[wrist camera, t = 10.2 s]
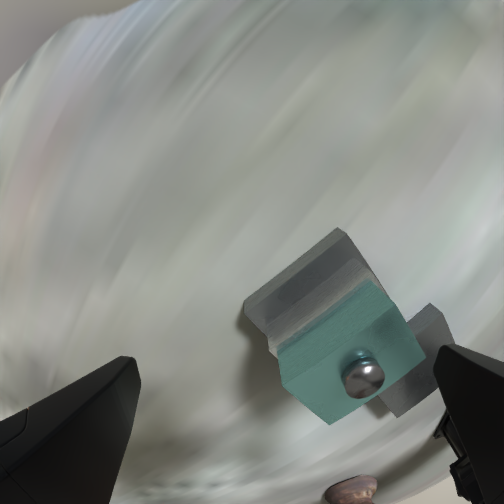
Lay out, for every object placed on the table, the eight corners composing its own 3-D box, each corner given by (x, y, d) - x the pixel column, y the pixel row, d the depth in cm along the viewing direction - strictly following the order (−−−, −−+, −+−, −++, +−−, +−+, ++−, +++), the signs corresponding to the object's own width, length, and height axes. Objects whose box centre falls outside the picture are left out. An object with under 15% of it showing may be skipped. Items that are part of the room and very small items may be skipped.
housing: (309, 369, 20) (330, 440, 13) (266, 324, 19) (274, 397, 12) (389, 309, 19) (439, 364, 12) (353, 256, 17) (405, 302, 11)
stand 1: (391, 307, 21) (402, 319, 19) (309, 368, 22) (314, 383, 20) (337, 227, 19) (346, 233, 17) (244, 300, 20) (244, 313, 18)
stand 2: (453, 354, 22) (463, 365, 20) (390, 405, 24) (397, 418, 22) (429, 302, 21) (442, 313, 19) (355, 363, 22) (362, 377, 20)
